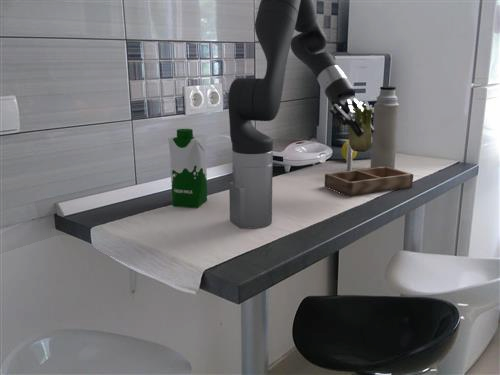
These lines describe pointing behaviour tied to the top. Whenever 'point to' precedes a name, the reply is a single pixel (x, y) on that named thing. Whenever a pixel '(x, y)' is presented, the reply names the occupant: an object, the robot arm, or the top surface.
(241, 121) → the robot arm
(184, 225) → the top surface
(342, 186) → the caddy
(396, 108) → the thermos bottle
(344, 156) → the lemon
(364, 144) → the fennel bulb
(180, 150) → the milk carton
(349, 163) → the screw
